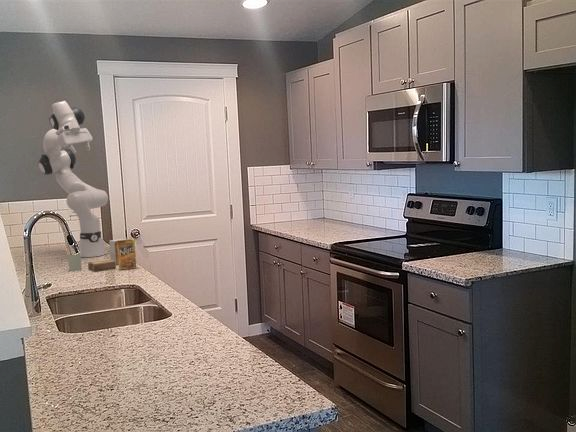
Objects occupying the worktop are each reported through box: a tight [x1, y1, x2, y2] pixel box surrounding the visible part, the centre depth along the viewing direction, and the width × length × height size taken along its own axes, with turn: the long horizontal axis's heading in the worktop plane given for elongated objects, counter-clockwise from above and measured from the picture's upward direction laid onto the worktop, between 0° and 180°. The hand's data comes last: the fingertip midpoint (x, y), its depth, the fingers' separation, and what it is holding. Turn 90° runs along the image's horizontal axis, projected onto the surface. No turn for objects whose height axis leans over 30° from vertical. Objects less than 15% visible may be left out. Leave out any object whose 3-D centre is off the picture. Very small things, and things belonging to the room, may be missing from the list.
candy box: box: [117, 238, 137, 271], centre depth 306 cm, size 9×4×15 cm, turn 107°
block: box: [67, 247, 82, 272], centre depth 309 cm, size 5×5×12 cm
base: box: [87, 258, 117, 273], centre depth 309 cm, size 10×11×4 cm
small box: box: [108, 238, 123, 266], centre depth 323 cm, size 8×6×13 cm
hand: (82, 151), depth 320 cm, fingers open, 8 cm apart
